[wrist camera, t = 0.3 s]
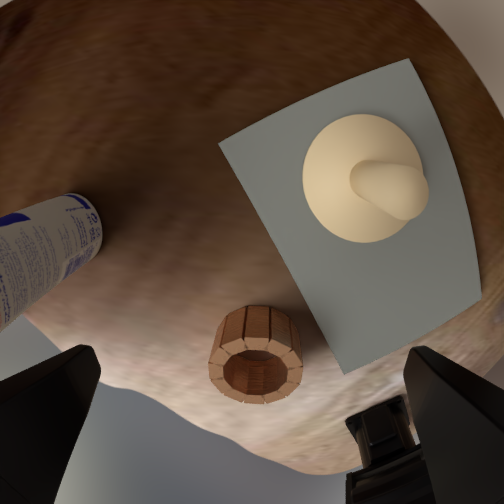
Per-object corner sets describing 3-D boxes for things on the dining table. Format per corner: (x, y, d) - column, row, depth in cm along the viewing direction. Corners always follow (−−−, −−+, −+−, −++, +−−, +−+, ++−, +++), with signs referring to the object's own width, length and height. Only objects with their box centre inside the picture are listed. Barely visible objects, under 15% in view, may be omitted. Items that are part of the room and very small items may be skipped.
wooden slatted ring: (310, 352, 23) (316, 386, 19) (242, 378, 24) (238, 411, 20) (275, 292, 21) (276, 322, 17) (202, 325, 23) (190, 357, 19)
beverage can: (77, 177, 19) (-93, 236, 5) (118, 233, 20) (-34, 351, 6) (43, 221, 20) (-94, 297, 6) (80, 272, 22) (-43, 382, 8)
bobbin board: (474, 292, 20) (520, 334, 14) (341, 365, 23) (358, 429, 17) (401, 62, 15) (456, 33, 8) (221, 143, 18) (193, 141, 11)
